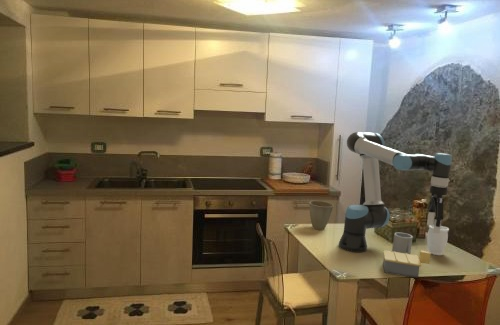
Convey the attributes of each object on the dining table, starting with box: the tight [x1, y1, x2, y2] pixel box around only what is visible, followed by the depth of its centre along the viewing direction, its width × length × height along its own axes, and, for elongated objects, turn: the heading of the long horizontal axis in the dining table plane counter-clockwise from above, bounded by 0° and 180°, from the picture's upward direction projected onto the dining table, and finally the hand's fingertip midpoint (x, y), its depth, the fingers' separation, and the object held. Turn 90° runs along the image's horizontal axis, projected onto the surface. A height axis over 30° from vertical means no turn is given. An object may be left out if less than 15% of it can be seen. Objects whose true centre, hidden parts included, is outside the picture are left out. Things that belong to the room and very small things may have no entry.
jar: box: [426, 224, 450, 256], centre depth 232 cm, size 11×10×15 cm
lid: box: [382, 250, 432, 267], centre depth 201 cm, size 21×13×5 cm, turn 76°
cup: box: [391, 232, 414, 254], centre depth 221 cm, size 9×9×12 cm
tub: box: [382, 258, 421, 279], centre depth 202 cm, size 15×12×6 cm
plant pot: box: [308, 200, 334, 231], centre depth 261 cm, size 15×15×16 cm
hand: (432, 228), depth 201 cm, fingers open, 13 cm apart
